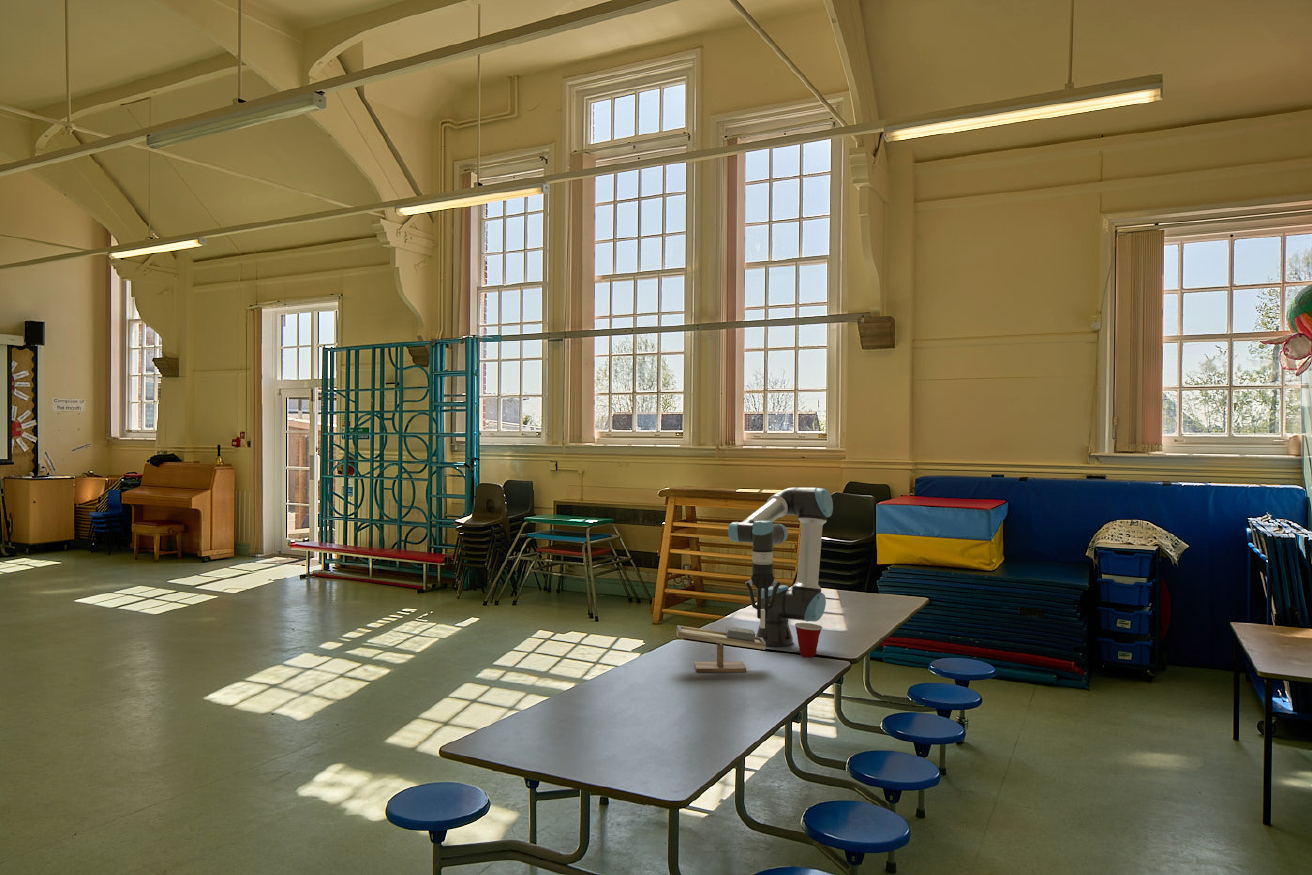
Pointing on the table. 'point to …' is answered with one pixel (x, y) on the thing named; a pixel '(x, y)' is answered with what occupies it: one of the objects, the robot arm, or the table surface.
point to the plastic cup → (808, 638)
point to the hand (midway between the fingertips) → (762, 627)
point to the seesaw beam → (717, 637)
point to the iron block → (740, 633)
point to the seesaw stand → (720, 664)
